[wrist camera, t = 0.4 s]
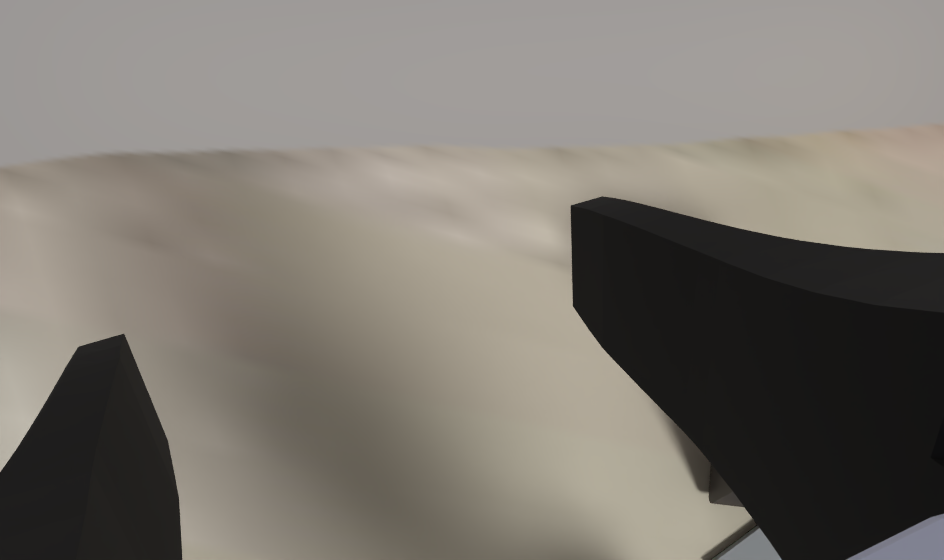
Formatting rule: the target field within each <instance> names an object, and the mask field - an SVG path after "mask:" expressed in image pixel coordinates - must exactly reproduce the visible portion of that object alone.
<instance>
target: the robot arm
mask: <svg viewBox="0 0 944 560" xmlns="http://www.w3.org/2000/svg"><path fill="white" fill-rule="evenodd" d="M571 238H572V282H573V307H574V308H575V310H576V311H577V313H578V314H579V316H580V317H581V319H582V320H583V321H584V323H585V324H586V326H587V327H588V329H589V330H590V332H591V333H592V334H593V336H594V337H595V338H596V340H597V341H598V342H599V344H600V345H601V346H602V348H603V349H604V350H605V351H606V352H607V353H608V354H609V355H610V356H611V357H612V359H613V360H614V361H615V362H616V363H617V364H618V365H619V366H620V367H621V368H622V369H623V370H624V371H625V372H626V373H627V374H628V375H629V376H630V377H631V378H632V379H633V380H634V381H635V382H636V383H637V384H638V386H639V387H640V388H641V389H642V390H643V391H644V392H645V393H646V394H647V395H648V396H649V397H650V398H651V399H652V400H653V401H654V402H655V403H656V404H657V405H658V406H659V407H660V408H661V409H662V410H663V411H664V412H665V413H666V414H667V415H668V416H669V417H670V418H671V419H672V420H673V421H674V422H675V423H676V424H677V425H678V426H679V427H680V428H681V429H682V430H683V431H684V432H685V434H686V435H687V436H688V437H689V438H690V439H691V440H692V441H693V442H694V444H695V445H696V446H697V447H698V448H699V449H700V450H701V451H702V453H703V454H704V455H705V456H706V458H707V459H708V460H709V462H710V463H711V464H712V465H713V467H714V468H715V469H716V471H717V472H718V473H719V474H720V476H721V477H722V478H723V480H724V481H725V482H726V483H727V485H728V486H729V487H730V488H731V490H732V491H733V492H734V494H735V495H736V496H737V498H738V499H739V500H740V502H741V503H742V505H743V506H744V507H745V509H746V510H747V511H748V513H749V514H750V515H751V517H752V518H753V520H754V521H755V522H756V524H757V525H758V526H759V528H760V529H761V531H762V532H763V533H764V535H765V536H766V537H767V539H768V540H769V542H770V543H771V544H772V546H773V547H774V549H775V550H776V552H777V553H778V555H779V556H780V558H781V559H782V560H944V253H920V252H903V251H888V250H873V249H862V248H852V247H843V246H835V245H828V244H821V243H813V242H806V241H799V240H794V239H788V238H782V237H777V236H772V235H767V234H762V233H758V232H753V231H748V230H743V229H739V228H734V227H730V226H726V225H722V224H718V223H714V222H710V221H706V220H702V219H698V218H694V217H690V216H686V215H682V214H678V213H675V212H671V211H667V210H663V209H659V208H655V207H651V206H648V205H643V204H639V203H635V202H631V201H626V200H621V199H616V198H609V197H599V198H596V199H592V200H589V201H585V202H582V203H578V204H575V205H571ZM0 560H182V544H181V526H180V509H179V496H178V491H177V486H176V480H175V475H174V470H173V465H172V460H171V455H170V450H169V445H168V440H167V437H166V435H165V433H164V430H163V428H162V425H161V423H160V420H159V418H158V415H157V413H156V411H155V408H154V406H153V403H152V401H151V398H150V396H149V393H148V391H147V389H146V386H145V384H144V381H143V379H142V376H141V374H140V371H139V369H138V367H137V364H136V362H135V359H134V357H133V354H132V352H131V349H130V347H129V345H128V342H127V340H126V337H125V335H124V334H121V335H118V336H114V337H111V338H107V339H104V340H100V341H97V342H93V343H90V344H86V345H83V346H80V347H78V348H77V350H76V352H75V353H74V355H73V356H72V358H71V360H70V361H69V363H68V364H67V366H66V368H65V370H64V371H63V373H62V375H61V377H60V378H59V380H58V382H57V384H56V385H55V387H54V389H53V391H52V392H51V394H50V396H49V397H48V399H47V401H46V403H45V404H44V406H43V408H42V409H41V411H40V413H39V414H38V416H37V417H36V419H35V421H34V422H33V424H32V425H31V427H30V429H29V430H28V432H27V434H26V435H25V437H24V438H23V440H22V442H21V443H20V445H19V446H18V448H17V449H16V451H15V452H14V454H13V455H12V456H11V458H10V459H9V461H8V462H7V464H6V465H5V466H4V468H3V469H2V471H1V472H0Z"/></svg>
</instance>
